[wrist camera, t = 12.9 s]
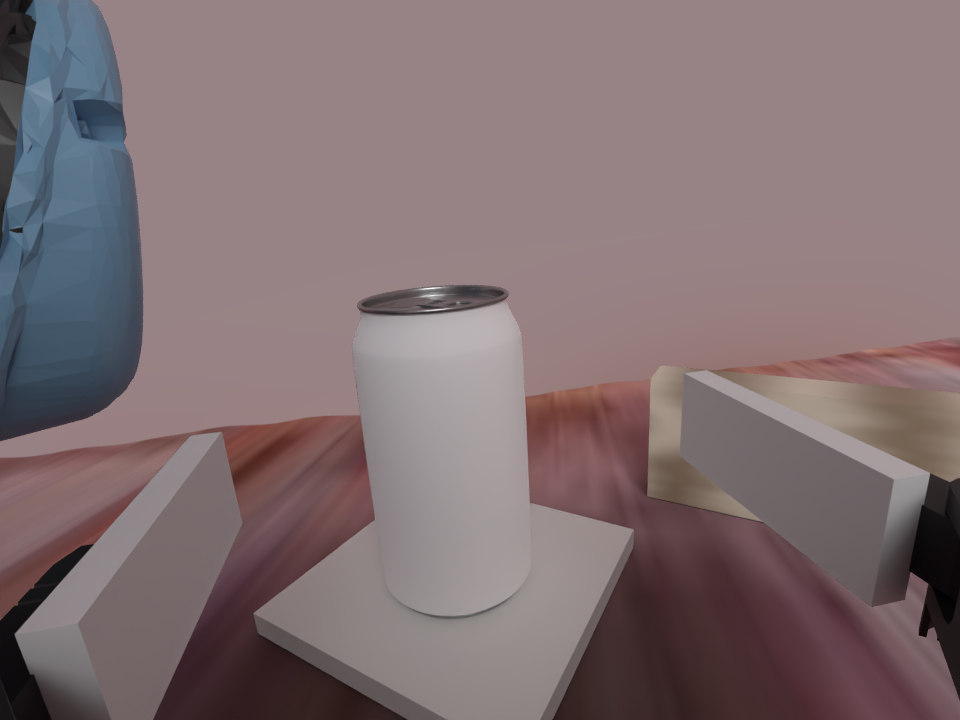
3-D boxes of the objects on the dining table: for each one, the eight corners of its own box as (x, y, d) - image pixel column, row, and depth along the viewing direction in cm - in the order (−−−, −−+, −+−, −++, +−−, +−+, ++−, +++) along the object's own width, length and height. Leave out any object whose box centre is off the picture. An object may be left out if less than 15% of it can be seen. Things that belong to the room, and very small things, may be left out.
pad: (258, 633, 21) (253, 613, 20) (431, 491, 31) (430, 476, 30) (522, 785, 15) (520, 760, 14) (633, 547, 24) (633, 529, 24)
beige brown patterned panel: (647, 496, 29) (650, 378, 27) (657, 476, 31) (661, 365, 29) (1257, 632, 18) (1338, 451, 16) (1213, 588, 20) (1280, 422, 18)
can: (447, 511, 27) (425, 282, 23) (559, 551, 23) (551, 285, 20) (352, 585, 22) (307, 307, 18) (474, 652, 18) (445, 318, 15)
